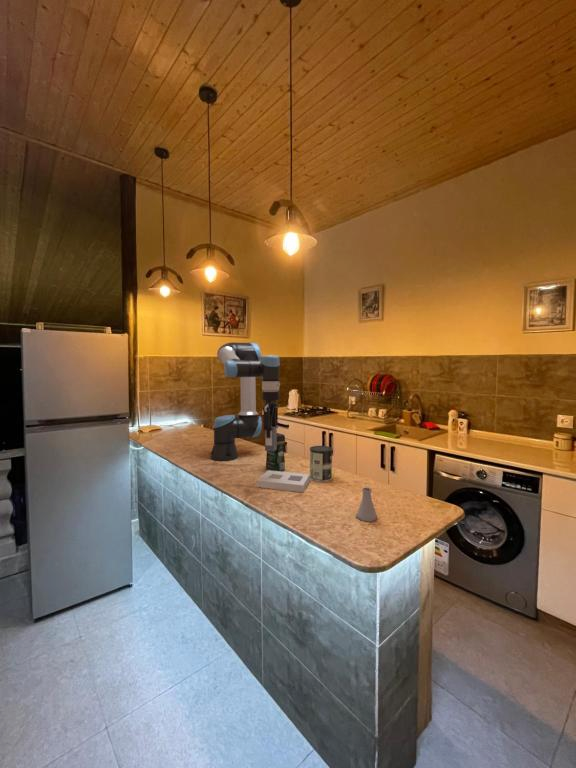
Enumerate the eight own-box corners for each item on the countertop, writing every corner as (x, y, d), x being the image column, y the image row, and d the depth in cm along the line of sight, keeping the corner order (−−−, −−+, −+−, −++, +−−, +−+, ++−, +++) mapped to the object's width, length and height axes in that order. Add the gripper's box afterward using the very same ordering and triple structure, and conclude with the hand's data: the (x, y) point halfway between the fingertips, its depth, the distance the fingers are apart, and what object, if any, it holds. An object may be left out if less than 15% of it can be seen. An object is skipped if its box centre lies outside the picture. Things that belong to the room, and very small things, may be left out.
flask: (361, 510, 118) (362, 483, 117) (380, 516, 113) (381, 488, 113) (351, 518, 112) (352, 489, 112) (371, 524, 108) (372, 494, 107)
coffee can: (330, 474, 157) (331, 445, 156) (333, 482, 146) (333, 451, 146) (309, 474, 157) (309, 445, 156) (310, 482, 147) (310, 450, 146)
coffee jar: (263, 468, 165) (263, 432, 164) (275, 465, 170) (275, 430, 169) (275, 473, 158) (275, 435, 157) (287, 470, 163) (287, 433, 162)
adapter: (268, 448, 147) (268, 425, 146) (276, 449, 145) (276, 426, 145) (264, 450, 143) (264, 427, 142) (273, 451, 142) (273, 427, 141)
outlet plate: (268, 476, 153) (268, 469, 153) (309, 480, 148) (310, 473, 148) (257, 487, 140) (257, 479, 140) (302, 492, 134) (302, 484, 134)
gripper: (272, 392, 134) (272, 449, 135) (284, 390, 150) (284, 440, 151) (255, 392, 136) (255, 447, 137) (269, 389, 152) (269, 439, 153)
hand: (270, 443), depth 144 cm, fingers closed on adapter, 4 cm apart
